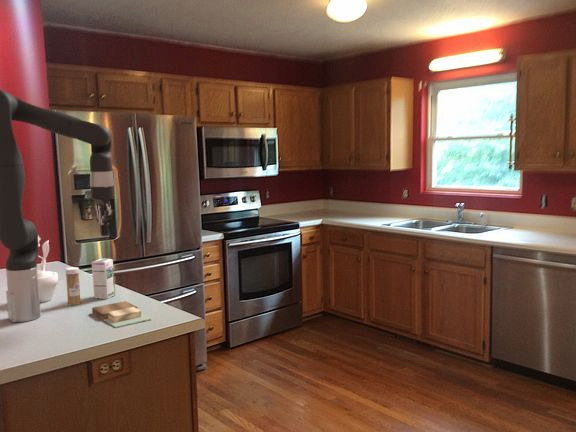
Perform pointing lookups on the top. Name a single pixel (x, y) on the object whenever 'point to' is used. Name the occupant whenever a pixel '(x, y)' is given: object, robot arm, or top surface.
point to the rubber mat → (127, 321)
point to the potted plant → (46, 277)
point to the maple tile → (124, 314)
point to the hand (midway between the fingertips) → (104, 235)
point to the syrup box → (103, 278)
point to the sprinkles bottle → (73, 285)
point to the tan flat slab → (110, 309)
